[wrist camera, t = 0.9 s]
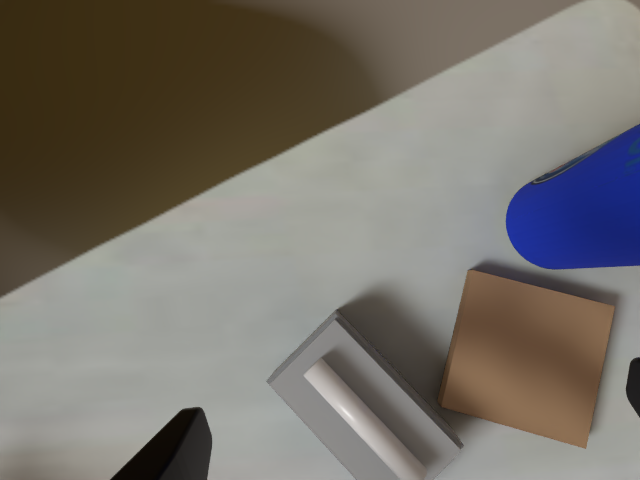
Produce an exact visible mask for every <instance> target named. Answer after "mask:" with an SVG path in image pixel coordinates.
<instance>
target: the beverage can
mask: <svg viewBox="0 0 640 480" xmlns="http://www.w3.org/2000/svg"><path fill="white" fill-rule="evenodd" d="M506 229H507V233H508V236H509V239H510V241H511V243H512V245H513V246H514V248H515V249H516V250H517V251H518V253H519V254H520V255H521V256H522V257H524V258H525V259H526V260H528V261H529V262H531V263H532V264H535V265H537V266H539V267H543V268H547V269H576V268H597V267H617V266H638V265H640V124H639V125H637V126H635V127H633V128H631V129H629V130H627V131H626V132H624V133H622V134H620V135H618V136H616V137H614V138H612V139H611V140H609V141H607V142H605V143H603V144H601V145H599V146H597V147H596V148H594V149H592V150H590V151H588V152H586V153H584V154H582V155H581V156H579V157H577V158H575V159H573V160H571V161H569V162H567V163H565V164H564V165H562V166H560V167H558V168H556V169H554V170H552V171H550V172H549V173H547V174H545V175H543V176H541V177H539V178H537V179H535V180H534V181H532V182H530V183H528V184H526V185H525V186H523V187H522V188H521V189H520V190H519V191H518V192H517V193H516V194H515V195H514V197H513V198H512V200H511V202H510V204H509V206H508V210H507V214H506Z"/></svg>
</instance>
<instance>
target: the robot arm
mask: <svg viewBox="0 0 640 480" xmlns="http://www.w3.org/2000/svg"><path fill="white" fill-rule="evenodd" d="M626 394H627V398H628V400H629V402H630V404H631V405H632V407H633V408H634V410H635V411H636V413H637V414H638V416H639V417H640V357H638V358H634V359H633V360H632V361H631V363H630V367H629V373H628V379H627V385H626ZM211 449H212V435H211V432H210V429H209V426H208V422H207V419H206V416H205V413H204V411H203V409H202V408H200V407H193V408H185V409H182V410H181V411H180V412H178V413H177V414H176V415H175V416H174V417H173V418H172V419H171V420H170V421H169V422H168V423H167V424H166V425H165V426H164V427H163V428H162V429H161V430H160V431H159V432H158V433H157V434H156V435H155V436H154V437H153V438H152V439H151V440H150V441H149V442H148V443H147V444H146V445H145V446H144V447H143V448H142V449H141V450H140V451H139V452H138V453H137V454H136V455H135V456H134V457H133V458H132V459H131V460H130V461H129V462H127V463H126V464H125V465H124V466H123V467H122V468H121V469H120V470H119V471H118V472H117V473H116V474H115V475H114V476H113V477H112V478H111V479H110V480H207V476H208V469H209V463H210V456H211Z"/></svg>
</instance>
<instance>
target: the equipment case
mask: <svg viewBox="0 0 640 480" xmlns="http://www.w3.org/2000/svg"><path fill="white" fill-rule="evenodd" d="M266 382H267V383H268V384H269V385H270V386H271V387H272V388H273V389H274V390H275V392H276V393H277V394H278V395H279V396H280V397H281V398H282V399H283V400H284V401H285V402H286V404H287V405H288V406H289V407H290V408H291V409H292V410H293V411H294V412H295V413H296V414H297V416H298V417H299V418H300V419H301V420H302V421H303V422H304V423H305V424H306V425H307V426H308V428H309V429H310V430H311V431H312V432H313V433H314V434H315V435H316V436H317V437H318V438H319V440H320V441H321V442H322V443H323V444H324V445H325V446H326V447H327V448H328V449H329V450H330V452H331V453H332V454H333V455H334V456H335V457H336V458H337V459H338V460H339V461H340V462H341V464H342V465H343V466H344V467H345V468H346V469H347V470H348V471H349V472H350V473H351V474H352V476H353V477H354V478H355V479H356V480H433V479H434V478H435V477H436V476H437V475H438V474H439V473H440V472H441V471H442V470H443V469H444V468H445V467H446V466H447V465H448V464H449V463H450V462H451V461H452V460H453V459H454V458H455V457H456V456H457V455H458V454H459V453H460V452H461V448H462V447H463V446H464V445H463V444H462V442H461V441H460V439H459V438H458V437H457V435H456V434H455V432H454V431H453V429H452V428H451V427H450V426H449V425H448V424H447V423H446V422H445V421H444V420H443V419H442V418H441V417H440V416H439V415H438V414H437V413H436V411H435V410H434V409H433V408H432V407H431V406H430V405H429V404H428V403H427V402H426V401H425V400H424V399H423V398H422V397H421V396H420V395H419V394H418V393H417V392H416V391H415V390H414V389H413V388H412V387H411V386H410V385H409V384H408V383H407V382H406V381H405V380H404V379H403V378H402V376H401V375H400V374H399V373H398V372H397V371H396V370H395V369H394V368H393V367H392V366H391V365H390V364H389V363H388V362H387V361H386V360H385V359H384V358H383V357H382V356H381V355H380V354H379V353H378V352H377V351H376V350H375V349H374V348H373V347H372V346H371V345H370V344H369V343H368V341H367V340H366V339H365V338H364V337H363V336H362V335H361V334H360V333H359V332H358V331H357V330H356V329H355V328H354V327H353V326H352V325H351V324H350V323H349V322H348V321H347V320H346V319H345V318H344V317H343V316H342V315H341V314H340V313H339V312H338V311H337V310H335V311H334V312H333V313H332V314H331V315H330V316H329V317H328V318H327V319H326V320H325V321H324V322H323V323H322V324H321V325H320V326H319V327H318V328H317V329H316V330H315V331H314V332H313V333H312V334H311V335H310V336H309V337H308V338H307V339H306V340H305V341H304V342H303V343H302V344H301V345H300V346H299V347H298V348H297V349H296V350H295V351H294V352H293V353H292V354H291V355H290V356H289V357H288V358H287V359H286V360H285V361H284V362H283V363H282V364H281V365H280V366H279V367H278V368H277V369H276V370H275V371H274V372H273V374H272V375H271V376H270V377H269V379H268V380H267V381H266Z"/></svg>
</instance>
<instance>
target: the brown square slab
mask: <svg viewBox="0 0 640 480" xmlns="http://www.w3.org/2000/svg"><path fill="white" fill-rule="evenodd" d="M614 309H615V306H612V305H608V304H604V303H600V302H596V301H592V300H588V299H585V298H581V297H577V296H573V295H569V294H565V293H561V292H557V291H553V290H549V289H546V288H542V287H538V286H534V285H530V284H526V283H522V282H518V281H514V280H510V279H507V278H503V277H499V276H495V275H491V274H487V273H483V272H479V271H475V270H468V272H467V276H466V281H465V285H464V289H463V293H462V298H461V302H460V306H459V310H458V315H457V319H456V323H455V327H454V332H453V336H452V340H451V344H450V349H449V353H448V357H447V361H446V366H445V370H444V374H443V378H442V383H441V387H440V391H439V395H438V400H437V402H438V403H439V404H440V406H441V407H443V408H447V409H450V410H454V411H457V412H461V413H464V414H468V415H471V416H475V417H478V418H481V419H485V420H488V421H492V422H495V423H499V424H502V425H506V426H509V427H513V428H516V429H520V430H523V431H526V432H530V433H533V434H537V435H540V436H544V437H547V438H551V439H554V440H558V441H561V442H564V443H568V444H571V445H575V446H578V447H582V448H585V449H586V446H587V441H588V436H589V431H590V426H591V422H592V417H593V412H594V407H595V402H596V397H597V392H598V387H599V382H600V378H601V373H602V368H603V363H604V358H605V353H606V348H607V343H608V339H609V334H610V329H611V324H612V319H613V314H614Z"/></svg>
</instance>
